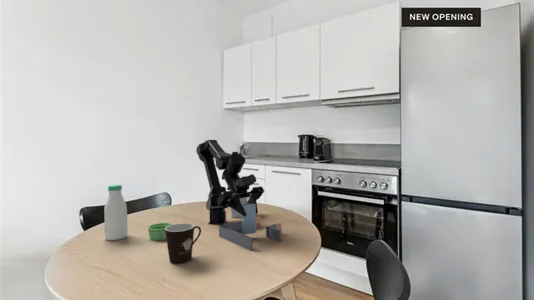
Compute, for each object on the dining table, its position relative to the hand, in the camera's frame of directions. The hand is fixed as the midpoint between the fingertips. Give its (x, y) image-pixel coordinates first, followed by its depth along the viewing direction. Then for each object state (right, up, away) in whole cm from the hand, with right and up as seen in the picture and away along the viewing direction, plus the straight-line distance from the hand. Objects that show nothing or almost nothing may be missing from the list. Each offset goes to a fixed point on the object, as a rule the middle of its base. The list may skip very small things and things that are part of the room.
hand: (251, 214), depth 105 cm
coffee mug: (-19, -10, -16) cm, 27 cm away
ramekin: (-35, -10, +5) cm, 37 cm away
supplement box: (-8, -9, +35) cm, 37 cm away
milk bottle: (-52, -10, +5) cm, 53 cm away
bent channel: (+2, -9, +3) cm, 10 cm away
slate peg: (-1, -7, +1) cm, 7 cm away
